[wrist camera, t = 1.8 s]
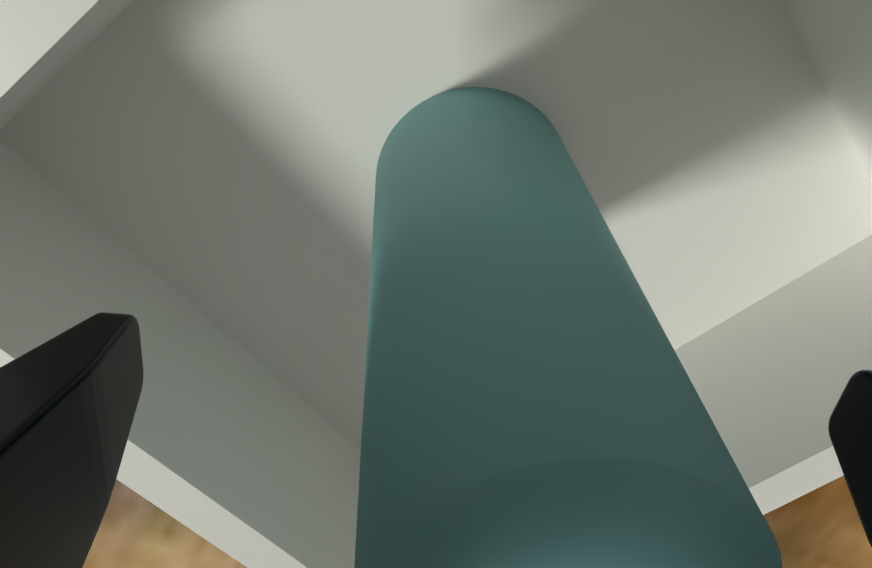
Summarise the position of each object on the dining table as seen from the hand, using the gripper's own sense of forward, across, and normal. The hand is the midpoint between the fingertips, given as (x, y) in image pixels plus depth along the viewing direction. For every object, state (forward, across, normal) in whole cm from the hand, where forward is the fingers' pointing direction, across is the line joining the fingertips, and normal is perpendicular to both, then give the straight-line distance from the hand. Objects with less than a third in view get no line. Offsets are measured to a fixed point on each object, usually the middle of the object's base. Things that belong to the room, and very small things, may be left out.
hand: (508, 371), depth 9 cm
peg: (+6, 0, 0) cm, 6 cm away
